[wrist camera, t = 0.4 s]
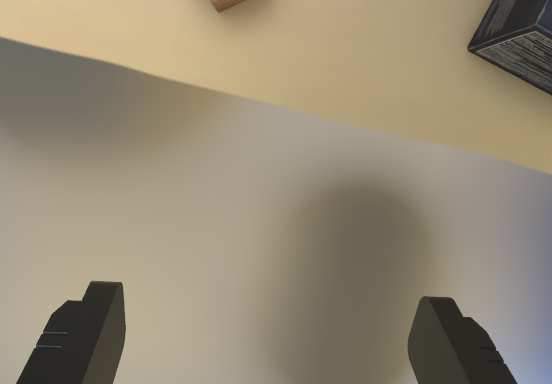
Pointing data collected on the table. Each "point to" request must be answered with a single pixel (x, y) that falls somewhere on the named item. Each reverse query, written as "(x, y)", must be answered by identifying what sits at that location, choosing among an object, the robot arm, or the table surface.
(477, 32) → the small box
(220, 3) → the block
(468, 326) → the robot arm
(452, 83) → the table surface
